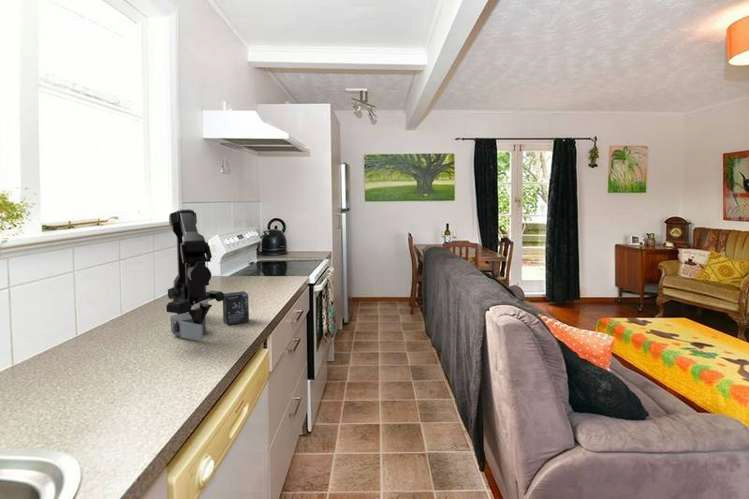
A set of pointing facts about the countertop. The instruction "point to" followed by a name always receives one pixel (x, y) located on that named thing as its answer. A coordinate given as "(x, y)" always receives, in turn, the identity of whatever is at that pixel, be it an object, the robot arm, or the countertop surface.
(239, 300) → the box
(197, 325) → the side door
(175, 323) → the grey squat block
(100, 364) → the countertop surface
